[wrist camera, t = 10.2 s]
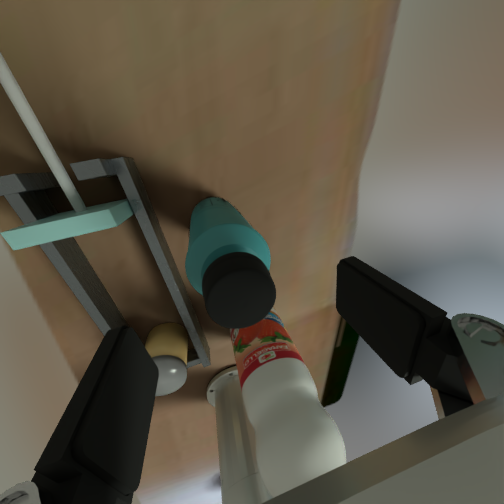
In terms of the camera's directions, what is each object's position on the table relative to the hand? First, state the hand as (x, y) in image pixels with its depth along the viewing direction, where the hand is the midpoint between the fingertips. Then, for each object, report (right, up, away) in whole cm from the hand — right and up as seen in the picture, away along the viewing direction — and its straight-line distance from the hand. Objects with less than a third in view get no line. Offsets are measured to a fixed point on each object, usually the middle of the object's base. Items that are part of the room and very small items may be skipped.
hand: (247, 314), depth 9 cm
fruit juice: (0, -10, +29) cm, 30 cm away
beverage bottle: (-5, +8, +19) cm, 21 cm away
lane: (-16, -2, +20) cm, 26 cm away
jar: (-14, -12, +25) cm, 31 cm away
